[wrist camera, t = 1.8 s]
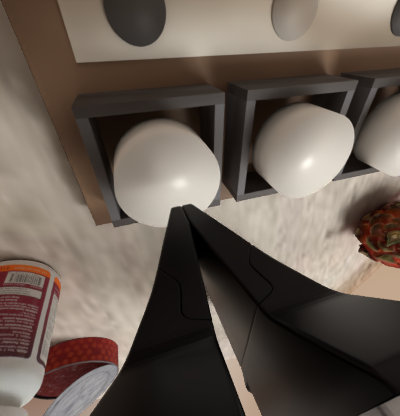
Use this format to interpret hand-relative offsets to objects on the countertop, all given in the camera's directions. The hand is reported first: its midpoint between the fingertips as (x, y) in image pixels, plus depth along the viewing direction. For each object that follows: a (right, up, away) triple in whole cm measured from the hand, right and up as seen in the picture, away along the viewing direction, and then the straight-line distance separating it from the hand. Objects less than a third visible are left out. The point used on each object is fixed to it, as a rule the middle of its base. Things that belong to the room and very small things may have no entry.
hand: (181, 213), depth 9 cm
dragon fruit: (+25, -1, +22) cm, 34 cm away
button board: (+5, +8, +7) cm, 12 cm away
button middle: (+6, +4, +5) cm, 9 cm away
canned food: (-16, -19, +21) cm, 32 cm away
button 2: (-1, +3, +3) cm, 4 cm away
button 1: (+14, +6, +7) cm, 17 cm away
